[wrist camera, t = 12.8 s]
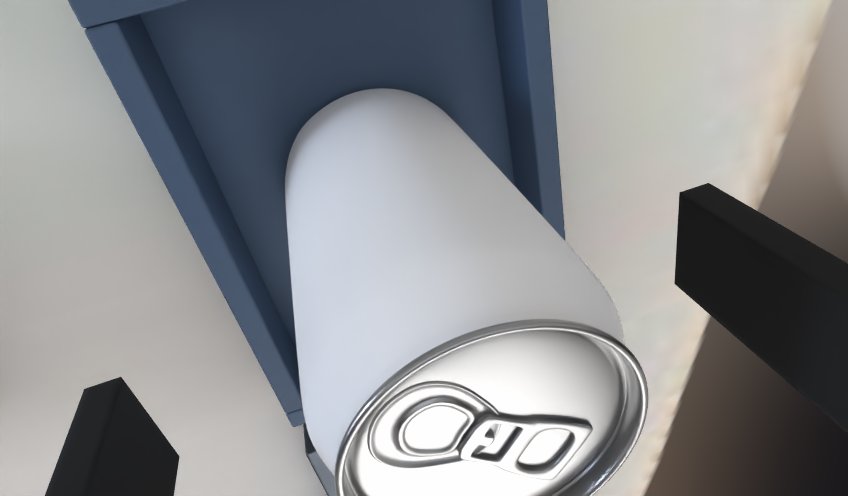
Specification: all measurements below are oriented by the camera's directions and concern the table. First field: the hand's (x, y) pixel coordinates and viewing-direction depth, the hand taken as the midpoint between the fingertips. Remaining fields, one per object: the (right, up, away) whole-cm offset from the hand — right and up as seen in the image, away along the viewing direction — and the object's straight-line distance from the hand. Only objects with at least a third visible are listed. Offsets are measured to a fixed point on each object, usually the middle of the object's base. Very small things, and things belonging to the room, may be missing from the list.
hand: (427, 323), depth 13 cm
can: (-2, +4, +7) cm, 8 cm away
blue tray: (-2, +4, +7) cm, 9 cm away
